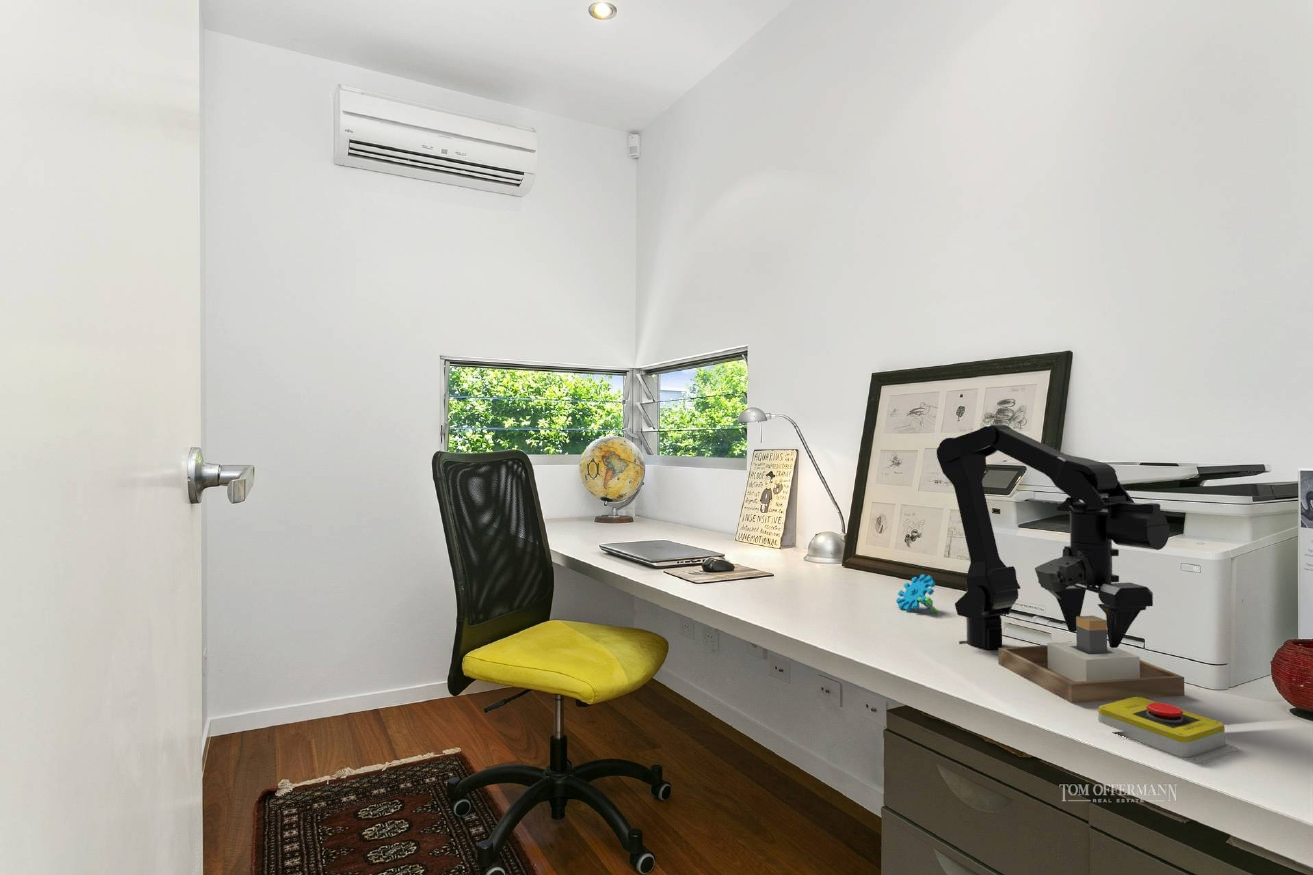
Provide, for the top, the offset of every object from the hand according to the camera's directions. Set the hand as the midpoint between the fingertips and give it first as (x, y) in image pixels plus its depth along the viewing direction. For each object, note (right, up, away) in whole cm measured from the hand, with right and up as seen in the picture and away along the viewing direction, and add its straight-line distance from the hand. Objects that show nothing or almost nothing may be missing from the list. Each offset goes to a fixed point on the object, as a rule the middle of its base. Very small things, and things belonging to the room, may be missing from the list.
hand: (1092, 639), depth 116 cm
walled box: (-2, -7, -1) cm, 7 cm away
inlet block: (0, -6, 0) cm, 6 cm away
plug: (0, -5, 0) cm, 5 cm away
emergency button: (-4, -8, -20) cm, 22 cm away
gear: (-11, -7, +48) cm, 50 cm away
